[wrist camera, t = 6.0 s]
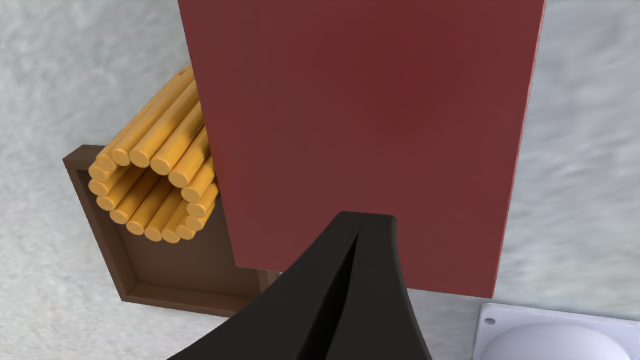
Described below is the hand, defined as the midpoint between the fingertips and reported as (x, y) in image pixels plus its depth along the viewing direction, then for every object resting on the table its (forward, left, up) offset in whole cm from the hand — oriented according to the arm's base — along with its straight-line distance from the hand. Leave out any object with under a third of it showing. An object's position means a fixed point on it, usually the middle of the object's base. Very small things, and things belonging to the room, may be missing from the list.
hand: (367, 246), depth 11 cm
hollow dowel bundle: (0, +6, -6) cm, 8 cm away
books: (0, +1, -10) cm, 10 cm away
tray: (-8, +12, -10) cm, 18 cm away
